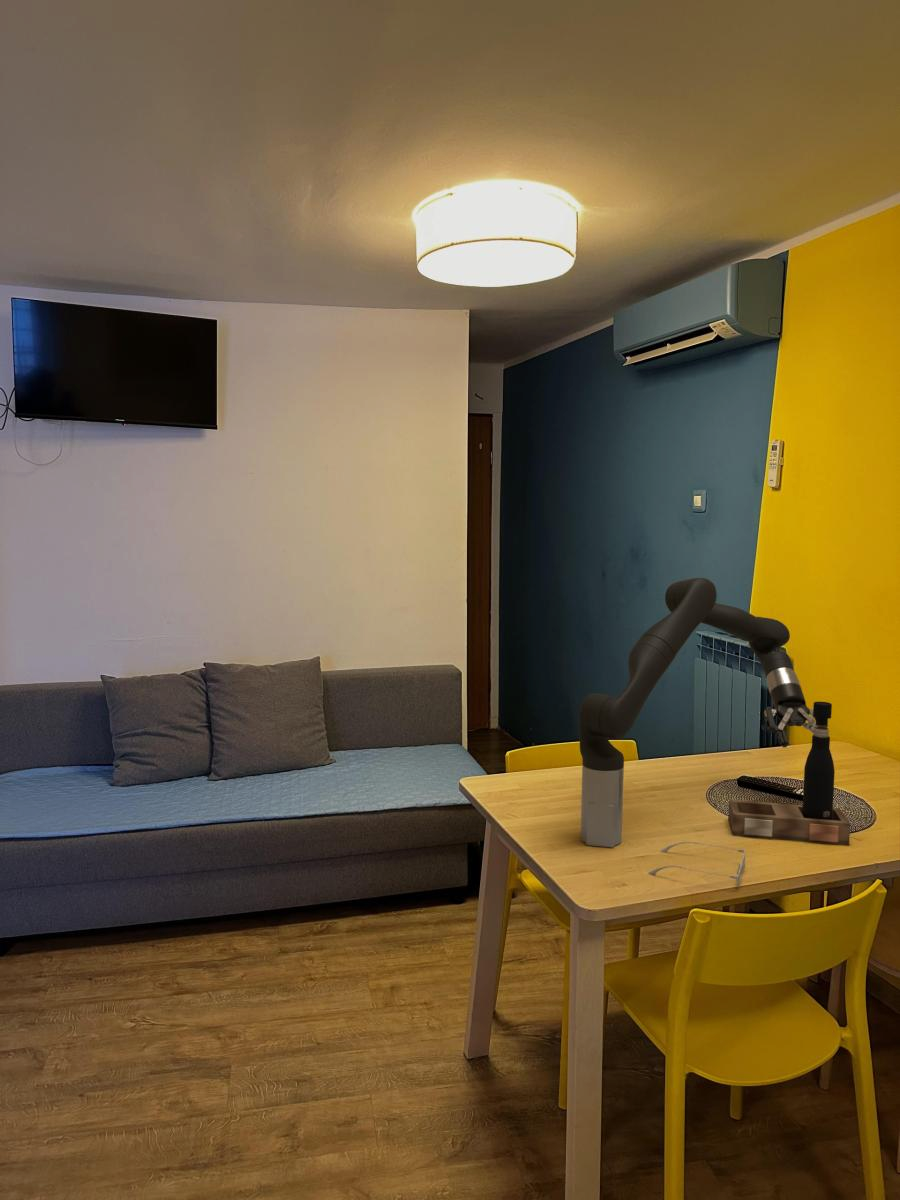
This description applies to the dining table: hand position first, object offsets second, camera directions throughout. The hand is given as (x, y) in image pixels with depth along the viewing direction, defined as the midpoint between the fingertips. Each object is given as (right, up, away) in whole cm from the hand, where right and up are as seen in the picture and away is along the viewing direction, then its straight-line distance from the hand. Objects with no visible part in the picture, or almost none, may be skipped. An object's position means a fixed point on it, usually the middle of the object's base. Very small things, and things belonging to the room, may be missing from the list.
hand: (803, 745), depth 208 cm
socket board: (-7, -19, -7) cm, 21 cm away
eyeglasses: (-34, -21, -29) cm, 50 cm away
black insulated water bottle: (0, -18, -8) cm, 20 cm away
